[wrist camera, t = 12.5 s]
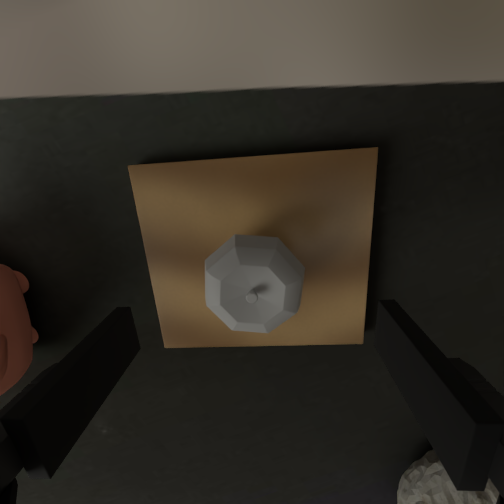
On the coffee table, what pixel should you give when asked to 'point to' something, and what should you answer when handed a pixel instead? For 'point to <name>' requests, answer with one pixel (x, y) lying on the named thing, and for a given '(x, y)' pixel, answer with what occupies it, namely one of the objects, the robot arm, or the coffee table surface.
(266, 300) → the apple
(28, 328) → the teapot
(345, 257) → the board
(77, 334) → the coffee table surface
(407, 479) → the decorative shell
